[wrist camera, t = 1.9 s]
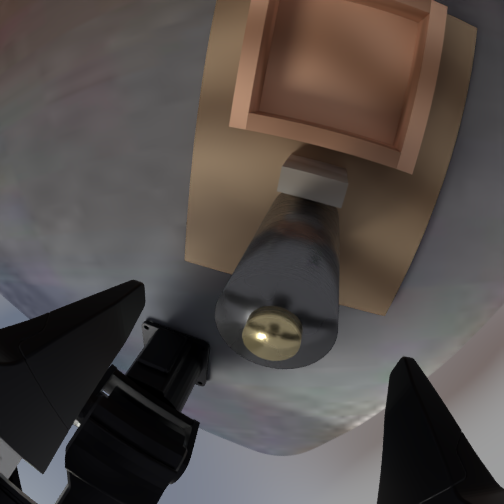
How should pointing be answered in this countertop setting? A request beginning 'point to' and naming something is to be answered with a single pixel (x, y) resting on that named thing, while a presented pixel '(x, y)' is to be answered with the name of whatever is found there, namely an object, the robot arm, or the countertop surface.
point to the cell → (285, 287)
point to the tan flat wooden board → (328, 128)
